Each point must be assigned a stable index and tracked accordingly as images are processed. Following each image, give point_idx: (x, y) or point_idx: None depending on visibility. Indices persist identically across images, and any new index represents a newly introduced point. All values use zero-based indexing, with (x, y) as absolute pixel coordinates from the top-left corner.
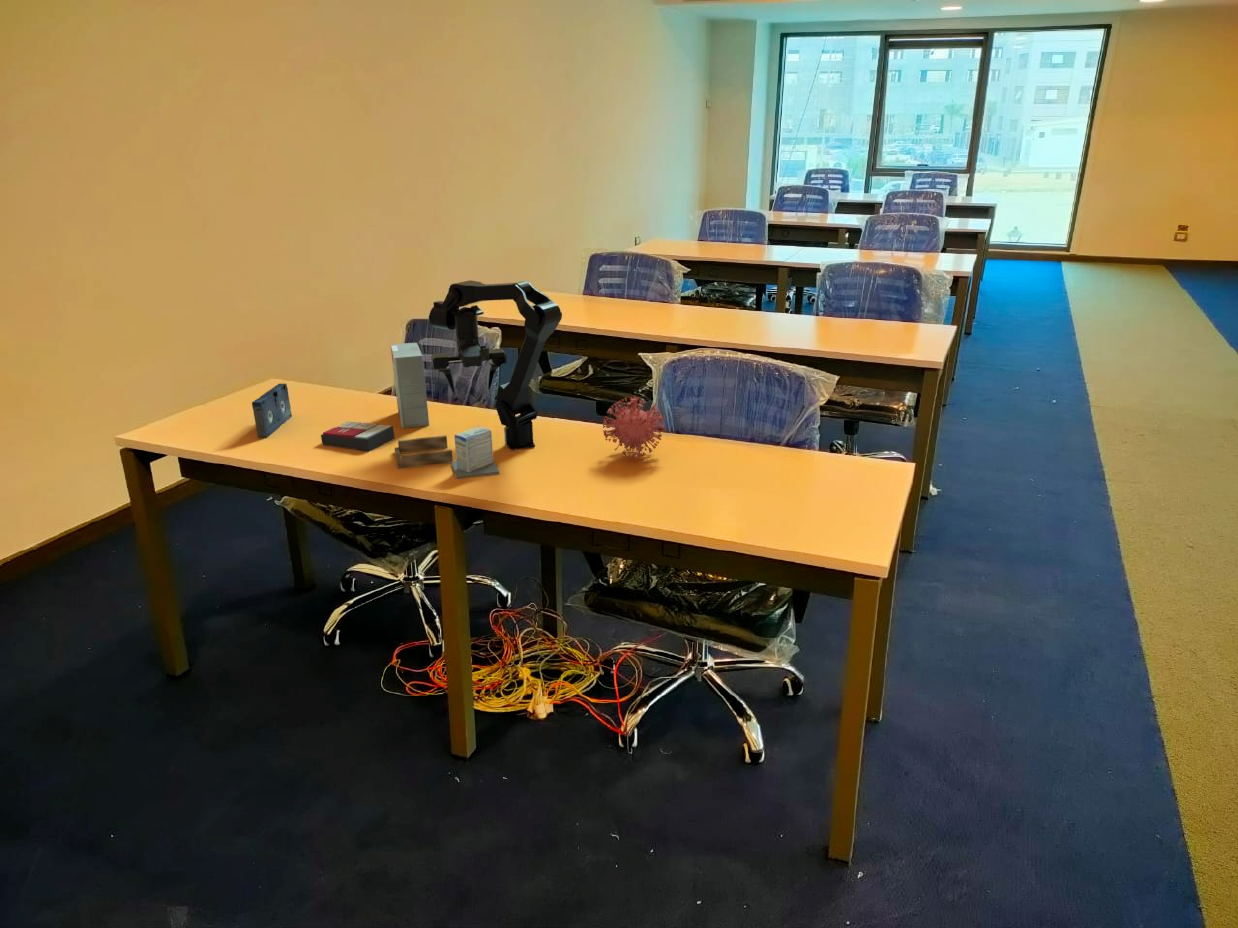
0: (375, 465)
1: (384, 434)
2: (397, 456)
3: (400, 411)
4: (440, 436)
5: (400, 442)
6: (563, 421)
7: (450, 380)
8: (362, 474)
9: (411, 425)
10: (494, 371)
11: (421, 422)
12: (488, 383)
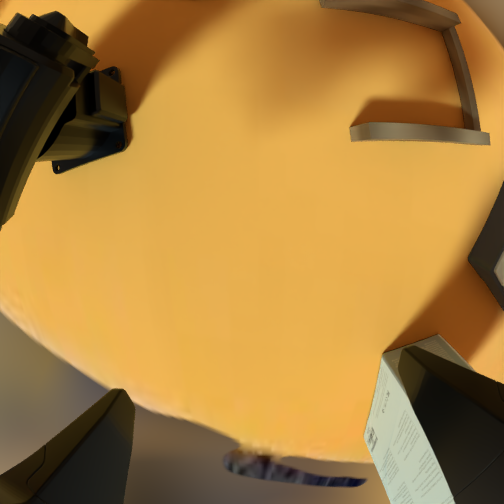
0: (487, 73)
1: (501, 232)
2: (467, 70)
3: (464, 359)
4: (390, 130)
5: (483, 132)
6: (18, 319)
7: (493, 395)
8: (489, 40)
9: (423, 342)
10: (6, 478)
11: None
12: (98, 420)
